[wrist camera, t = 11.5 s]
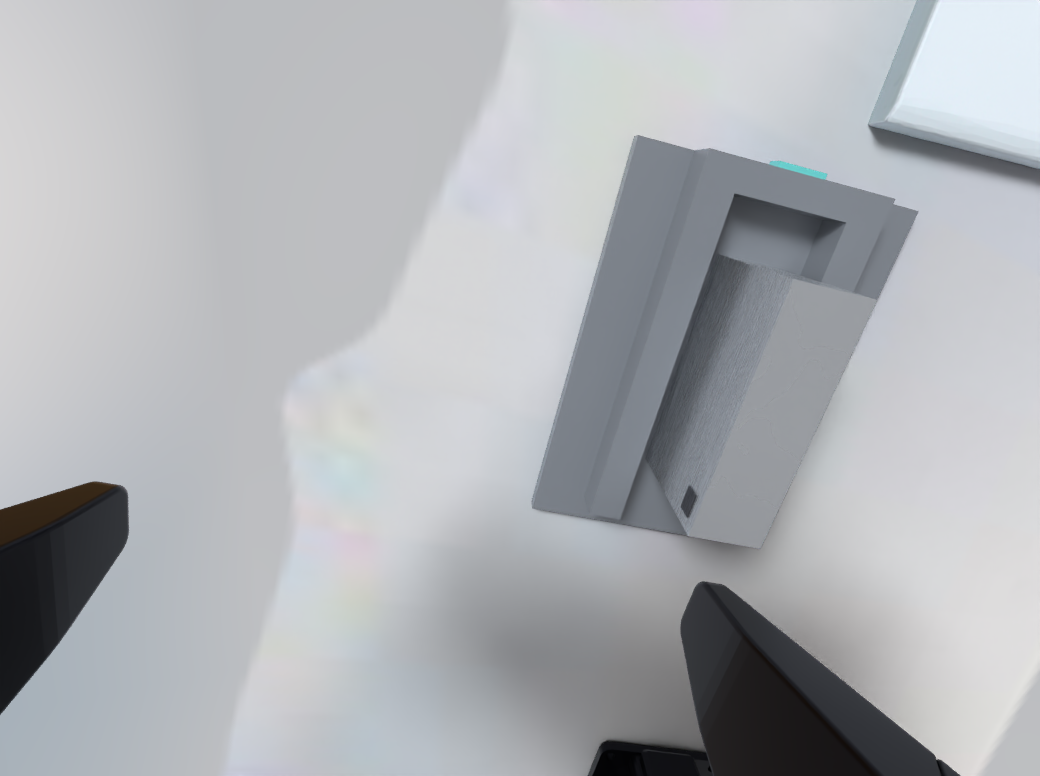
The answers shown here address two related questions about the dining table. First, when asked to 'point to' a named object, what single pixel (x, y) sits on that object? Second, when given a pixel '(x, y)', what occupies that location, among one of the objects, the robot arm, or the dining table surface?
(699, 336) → the block
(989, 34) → the external hard drive
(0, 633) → the robot arm
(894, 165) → the dining table surface
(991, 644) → the dining table surface
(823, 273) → the dock
